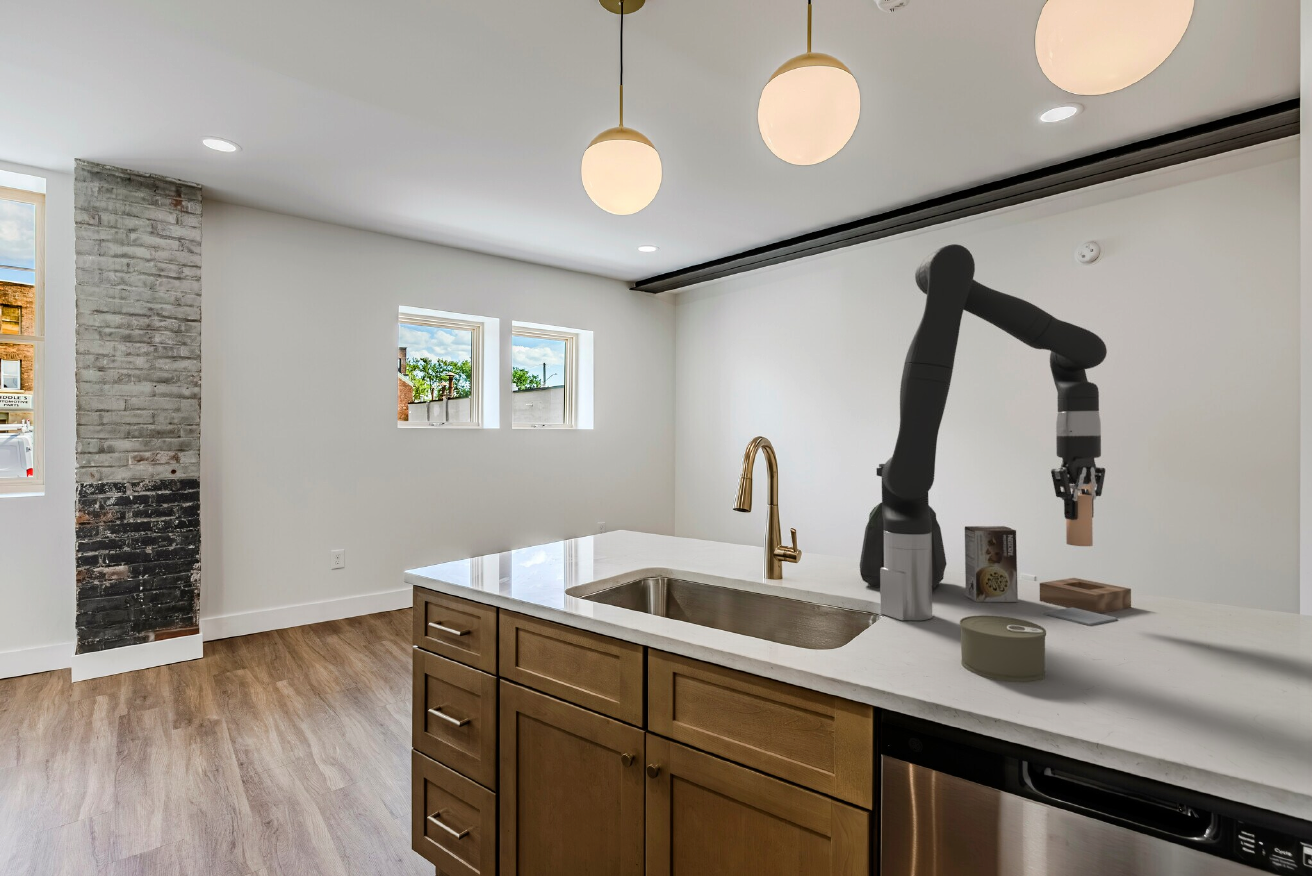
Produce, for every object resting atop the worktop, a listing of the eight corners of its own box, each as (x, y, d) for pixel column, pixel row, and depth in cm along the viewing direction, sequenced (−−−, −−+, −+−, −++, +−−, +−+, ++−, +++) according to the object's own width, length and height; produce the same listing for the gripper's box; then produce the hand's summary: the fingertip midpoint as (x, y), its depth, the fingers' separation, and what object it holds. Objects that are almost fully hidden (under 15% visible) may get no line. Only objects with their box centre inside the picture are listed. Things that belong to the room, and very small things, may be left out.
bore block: (1095, 614, 131) (1095, 594, 131) (1039, 600, 142) (1039, 582, 142) (1131, 607, 136) (1130, 588, 136) (1074, 595, 147) (1074, 577, 147)
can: (963, 651, 109) (962, 611, 109) (1045, 663, 103) (1045, 621, 103) (956, 674, 98) (956, 630, 98) (1047, 689, 92) (1047, 641, 92)
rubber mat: (1089, 625, 123) (1089, 623, 123) (1044, 614, 131) (1043, 612, 131) (1117, 620, 126) (1117, 618, 126) (1072, 609, 135) (1072, 607, 135)
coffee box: (1005, 595, 147) (1004, 525, 147) (1018, 602, 140) (1018, 529, 140) (964, 595, 147) (963, 525, 148) (975, 602, 141) (974, 529, 141)
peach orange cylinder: (1083, 547, 126) (1083, 496, 126) (1061, 543, 130) (1061, 494, 130) (1097, 545, 127) (1097, 495, 128) (1075, 542, 132) (1075, 493, 132)
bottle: (857, 586, 156) (856, 464, 156) (875, 574, 170) (874, 462, 170) (936, 596, 146) (935, 466, 147) (948, 582, 160) (947, 463, 160)
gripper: (1074, 434, 122) (1075, 522, 122) (1119, 433, 128) (1120, 518, 128) (1036, 434, 129) (1037, 518, 129) (1081, 434, 135) (1082, 514, 135)
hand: (1079, 518), depth 129 cm, fingers closed on peach orange cylinder, 4 cm apart
